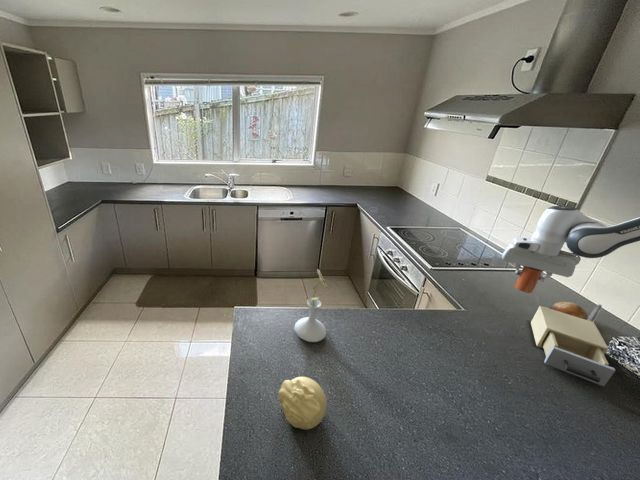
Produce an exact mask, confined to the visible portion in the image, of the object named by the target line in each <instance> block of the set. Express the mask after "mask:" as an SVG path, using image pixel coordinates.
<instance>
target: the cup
mask: <svg viewBox="0 0 640 480" xmlns="http://www.w3.org/2000/svg"><path fill="white" fill-rule="evenodd" d="M521 270H522V273H521V275H518V278H517V280H516V281H515V284H514V288H515V289H516V290H518V291H520V292H523V293H527V294H532V293H533V292H534V290H535V288H536V287H537V285H538V282H539V279H540V277H541V276H543V273H544V271H541V270H537V269H534V268H530V267H526V266H522V269H521Z"/></svg>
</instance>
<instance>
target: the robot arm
mask: <svg viewBox="0 0 640 480" xmlns="http://www.w3.org/2000/svg"><path fill="white" fill-rule="evenodd" d="M637 242H640V216H639V217H635V218H632V219H629V220H625V221H623V222H620V223H617V224H614V225H610V226H608V225H606V224H604V223H603V222H601V221H598V220H597V219H596V220H595V219H593V218H591V217H589V216H587V215H585V214H584V213H583V212H581V210H579V209H578V208H577V207H574V206H569V205H552V206H549V207H548V208H546V209H545V210H544V211H543V213H542V214H541V216H540V218H539V219H538V221H537V224H536V228H535V231H534V232H533V233H532V235H531V236H519V237H518V236H515V237H514V238H513V239H512V242H510V243H509V244H508V245H507V246H506V247H505V249H504V250H503V252H502V254H501V258H502V261H504V262H507V263H510V264H514V266H515V269H516V270H515V272H514V273H515V275H517V276H519V275H521V273H522V269H519V268H521V266H522V267H524V266H526V267H530V268H534V269H537V270H541V271H543V272H545V274H542V275H541V277H540V279H539V280H538V282H539V281H540V282H542V283H543V282H545V281H546V279H548V278H550V277H552V276H553V274H554V275H556V276H560V277H563V278H564V277H565V278H570V277H572V276H573V275H574V273H575V269H576V267H577V265H579V263H580V262H581V259H582V258H585V259H586V258H587V259H599V258H603V257H606V256H608V255H610V254H612V253H613V252H615V251H616V250H617V249H620V248H621V247H624V246H627V245H630V244H633V243H637ZM565 243H566V247H567V249H568V250H569V251H570V252H569V251H566V250H562V248H563V247H564V245H565ZM581 257H582V258H581Z"/></svg>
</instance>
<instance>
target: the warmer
mask: <svg viewBox="0 0 640 480" xmlns="http://www.w3.org/2000/svg"><path fill="white" fill-rule="evenodd" d="M530 325H531V330H532V334H533V337H534V342H535V345H536V347H537V348H540V349H543V350H544V348H543V344H542V342H543V340H544V338H545V337H546V335H547V333H548V331H552V332H555V333H558V334H561V335H564V336H566V337H569V338H572V339H575V340H578V341H581V342H584V343H587V344H590V345H593V346H596V347H599V348H601V350H602V352H603V354H604V356H605V355H606V353H607V352H608V350H609V347H608V345H607V344H606V342H605V340H604V338H603V336H602V334H601V332H600V330H599V329H598V327H597V325H596V323H595V321H594V322H591V321H588V320H585V319H582V318H578V317H575V316H572V315H569V314H565V313H562V312H559V311H556V310H553V309H552V308H550V307H546V306H543V305H539V306H538V308H537V310H536V312H535V314H534V316H533V317H532V319H531V321H530Z"/></svg>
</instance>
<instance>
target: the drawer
mask: <svg viewBox="0 0 640 480" xmlns="http://www.w3.org/2000/svg"><path fill="white" fill-rule="evenodd" d="M542 344H543V348H544V349H543V348H542V349H543V350H544V354H545V355H544V356H545V359H544V364H545V365H548V366H549V367H550V366H551V367H553V368H555V369H558V370H560V371H563V372H565V373H568V374H571V375H573V376H576V377H579V378H581V379H584V380H586V381H589V382H591V383H594V384H597V385H598V386H602V387H605V386H606V384H607V383H608V382H609V380H610V379H611V378H612V377H613V375H614V374H615V372H616V369H615V367H613V366H609V365H610V363H609V362H608V360H607V358H606V356H605V355H604V354H603V352H602V350H601V348H599V347H596V346H593V345H590V344H587V343H584V342H581V341H578V340H575V339H572V338H569V337H566V336H564V335H561V334H558V333H555V332H552V331H548V333H547V335H546V337H545V338H544V340H543V342H542Z"/></svg>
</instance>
